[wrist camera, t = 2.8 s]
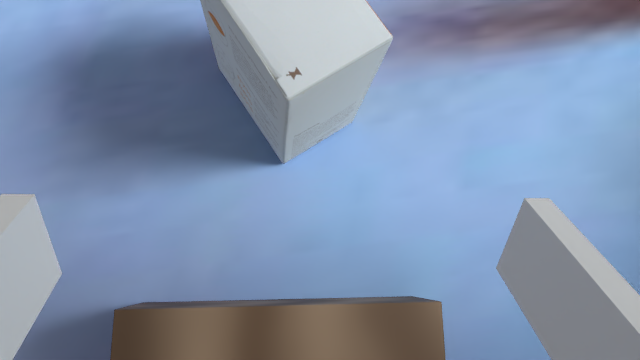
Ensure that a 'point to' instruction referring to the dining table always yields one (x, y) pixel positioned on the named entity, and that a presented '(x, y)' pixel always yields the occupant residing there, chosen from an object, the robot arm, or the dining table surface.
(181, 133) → the dining table surface
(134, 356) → the walnut block
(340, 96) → the small box
